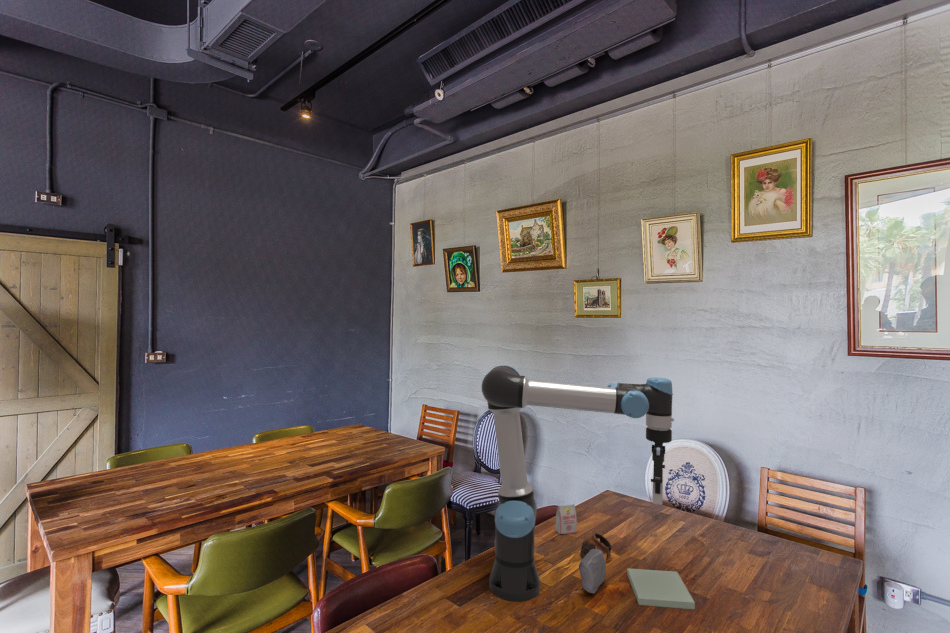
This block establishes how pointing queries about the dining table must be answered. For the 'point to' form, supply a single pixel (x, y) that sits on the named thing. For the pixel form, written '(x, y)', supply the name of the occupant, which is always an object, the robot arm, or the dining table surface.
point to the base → (660, 589)
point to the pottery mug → (594, 542)
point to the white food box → (566, 519)
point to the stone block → (592, 570)
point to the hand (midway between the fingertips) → (657, 496)
